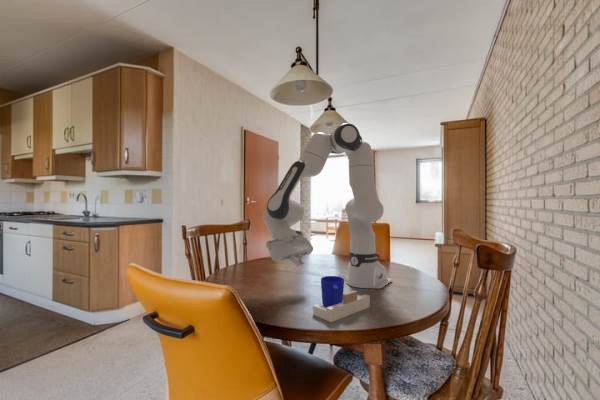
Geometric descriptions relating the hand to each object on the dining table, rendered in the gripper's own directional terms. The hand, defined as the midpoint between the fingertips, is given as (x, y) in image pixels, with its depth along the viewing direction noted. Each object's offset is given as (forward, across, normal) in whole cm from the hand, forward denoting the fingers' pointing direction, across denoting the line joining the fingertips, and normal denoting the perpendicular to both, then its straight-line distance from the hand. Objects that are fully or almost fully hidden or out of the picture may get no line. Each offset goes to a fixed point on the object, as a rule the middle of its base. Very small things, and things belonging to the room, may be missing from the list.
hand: (300, 265), depth 117 cm
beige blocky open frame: (+24, -1, -7) cm, 25 cm away
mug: (+22, -2, -5) cm, 23 cm away
